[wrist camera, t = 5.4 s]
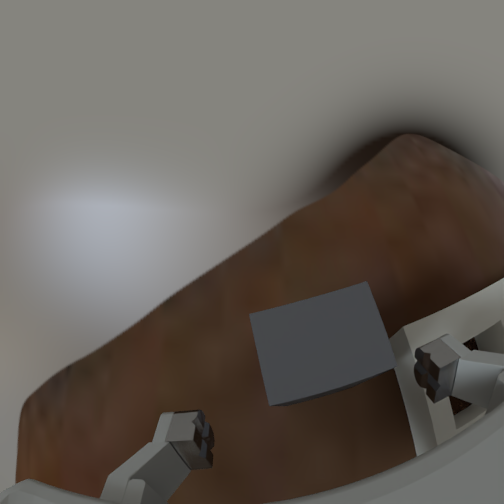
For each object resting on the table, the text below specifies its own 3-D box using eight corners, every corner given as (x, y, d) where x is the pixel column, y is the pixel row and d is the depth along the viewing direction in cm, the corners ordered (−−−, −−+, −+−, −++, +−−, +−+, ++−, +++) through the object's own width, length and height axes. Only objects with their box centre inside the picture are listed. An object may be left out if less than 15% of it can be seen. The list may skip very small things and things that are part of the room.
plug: (350, 387, 15) (397, 365, 7) (285, 406, 15) (269, 405, 7) (336, 340, 16) (365, 277, 9) (274, 358, 17) (248, 309, 9)
